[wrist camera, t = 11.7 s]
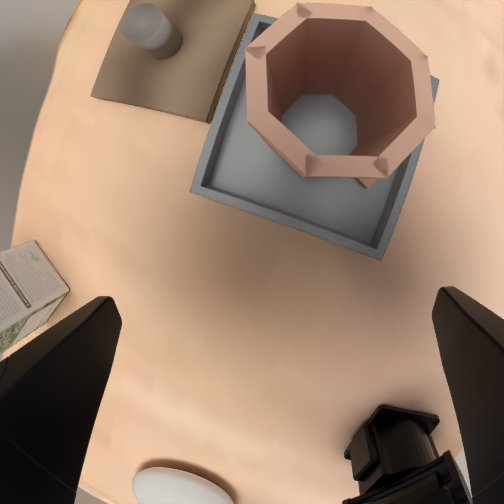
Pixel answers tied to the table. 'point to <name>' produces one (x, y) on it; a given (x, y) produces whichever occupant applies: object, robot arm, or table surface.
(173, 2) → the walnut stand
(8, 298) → the syrup box
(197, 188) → the charcoal tray
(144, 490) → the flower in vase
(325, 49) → the ring tube
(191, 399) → the table surface
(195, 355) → the table surface
